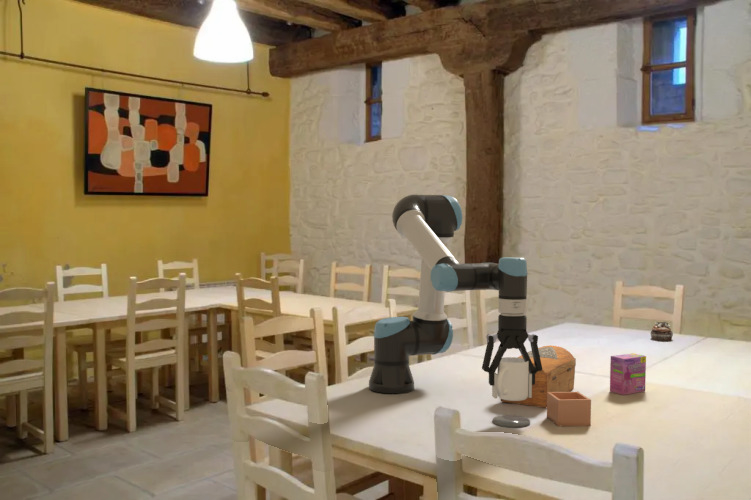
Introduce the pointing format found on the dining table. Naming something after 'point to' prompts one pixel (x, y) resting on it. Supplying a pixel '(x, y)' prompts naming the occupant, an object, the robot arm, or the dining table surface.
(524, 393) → the mug
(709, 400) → the dining table surface
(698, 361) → the dining table surface
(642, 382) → the box
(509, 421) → the slate coaster
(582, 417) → the planter
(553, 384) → the wooden box
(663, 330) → the cupcake
